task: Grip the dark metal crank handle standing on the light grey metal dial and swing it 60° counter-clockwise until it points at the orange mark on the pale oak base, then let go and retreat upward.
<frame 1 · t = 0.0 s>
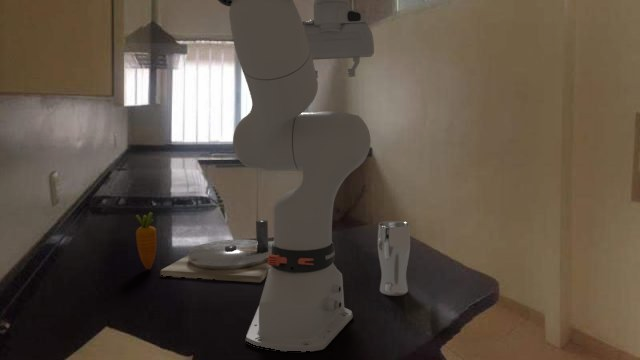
hand: (332, 77, 115), 48 cm above the worktop, fingers open, 8 cm apart
dial: (230, 238, 125), point 7 cm above the worktop, hinge at 0.0°
carrot: (148, 270, 121), on the worktop
dial base: (231, 263, 126), on the worktop
beer glass: (393, 292, 103), on the worktop
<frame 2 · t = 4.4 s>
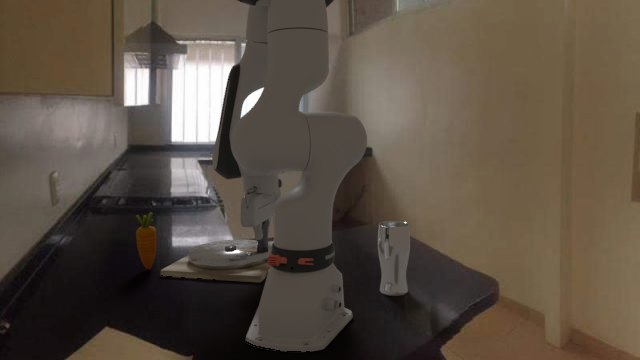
hand: (262, 237, 123), 8 cm above the worktop, fingers closed on dial, 3 cm apart
dial: (230, 238, 125), point 7 cm above the worktop, hinge at 0.0°, touching gripper
everything else where it was.
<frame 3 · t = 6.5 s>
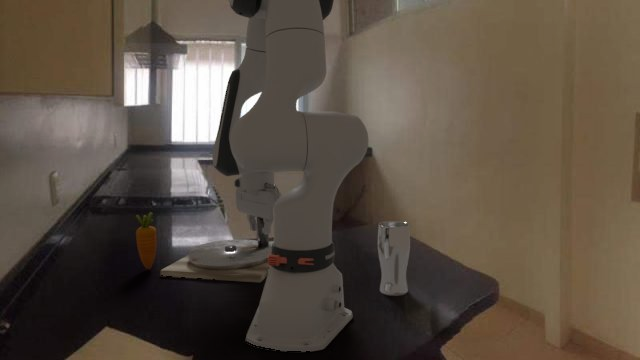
hand: (259, 232, 129), 7 cm above the worktop, fingers open, 5 cm apart
dial: (230, 238, 125), point 7 cm above the worktop, hinge at 36.6°, touching gripper
everything else where it was.
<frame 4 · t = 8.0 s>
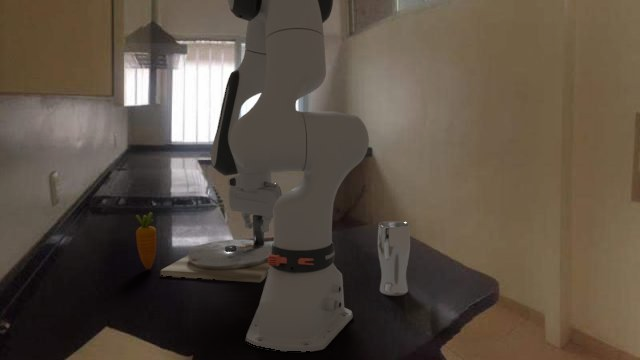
hand: (256, 229, 131), 8 cm above the worktop, fingers open, 5 cm apart
dial: (230, 238, 125), point 7 cm above the worktop, hinge at 54.4°
everything else where it was.
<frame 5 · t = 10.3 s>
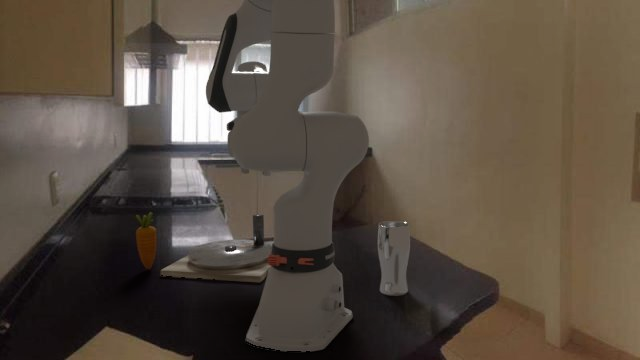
hand: (255, 174, 129), 23 cm above the worktop, fingers open, 8 cm apart
nothing on the worktop moved.
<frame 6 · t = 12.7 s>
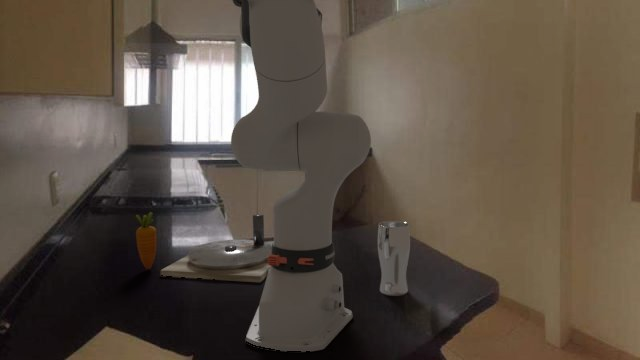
hand: (301, 122, 118), 37 cm above the worktop, fingers open, 8 cm apart
nothing on the worktop moved.
at the end: dial at +54° (first picture: +0°); carrot moved 0.2 cm from its start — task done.
